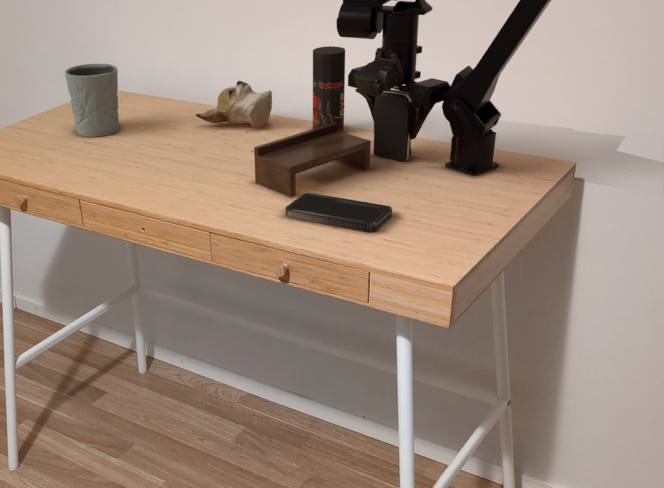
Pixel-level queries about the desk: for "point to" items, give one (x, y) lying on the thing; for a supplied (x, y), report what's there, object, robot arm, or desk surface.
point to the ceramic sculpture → (240, 106)
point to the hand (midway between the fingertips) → (395, 133)
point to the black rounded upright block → (392, 125)
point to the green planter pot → (94, 98)
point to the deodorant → (328, 86)
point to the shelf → (307, 156)
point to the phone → (339, 212)
